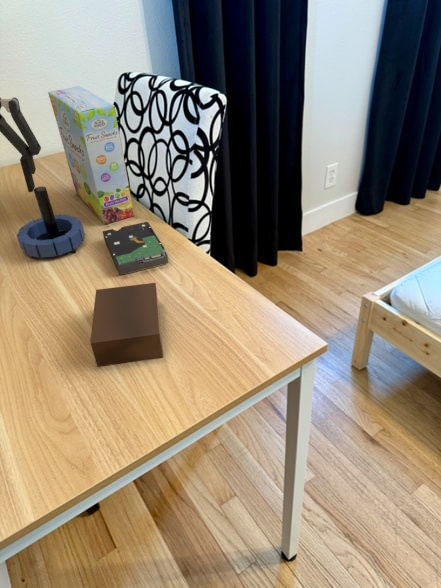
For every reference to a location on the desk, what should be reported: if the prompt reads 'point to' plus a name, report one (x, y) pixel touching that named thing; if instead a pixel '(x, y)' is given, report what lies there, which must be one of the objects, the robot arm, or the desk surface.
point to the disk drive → (135, 248)
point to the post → (48, 217)
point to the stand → (126, 325)
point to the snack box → (93, 151)
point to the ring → (51, 246)
